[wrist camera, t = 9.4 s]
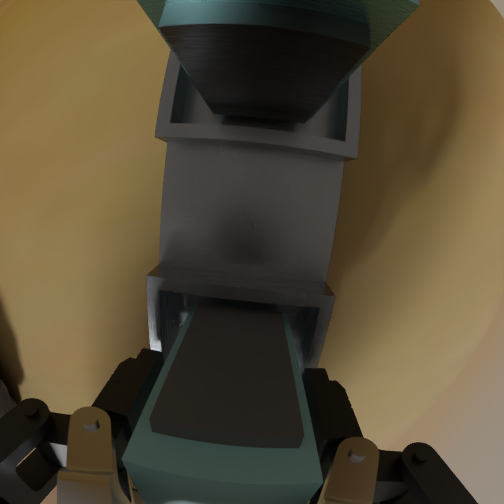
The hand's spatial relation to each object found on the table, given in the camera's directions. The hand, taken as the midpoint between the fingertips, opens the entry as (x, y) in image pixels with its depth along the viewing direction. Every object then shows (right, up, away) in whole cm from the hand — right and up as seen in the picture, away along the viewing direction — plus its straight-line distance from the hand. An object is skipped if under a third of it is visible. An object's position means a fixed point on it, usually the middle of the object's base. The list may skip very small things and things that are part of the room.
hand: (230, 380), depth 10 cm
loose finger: (0, +1, +2) cm, 2 cm away
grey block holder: (+1, +7, +3) cm, 7 cm away
